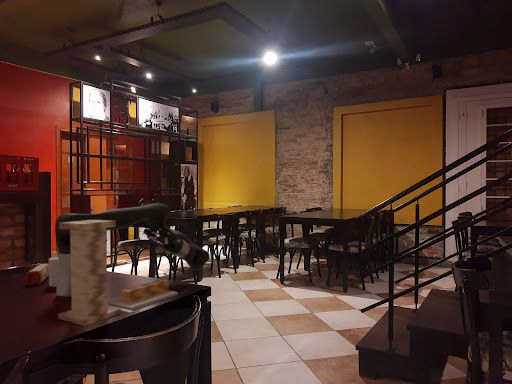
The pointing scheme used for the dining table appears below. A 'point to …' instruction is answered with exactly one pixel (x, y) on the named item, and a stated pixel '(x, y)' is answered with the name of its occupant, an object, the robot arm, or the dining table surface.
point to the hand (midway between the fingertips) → (151, 230)
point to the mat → (140, 300)
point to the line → (123, 309)
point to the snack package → (37, 274)
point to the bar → (144, 290)
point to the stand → (88, 272)
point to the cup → (53, 271)
